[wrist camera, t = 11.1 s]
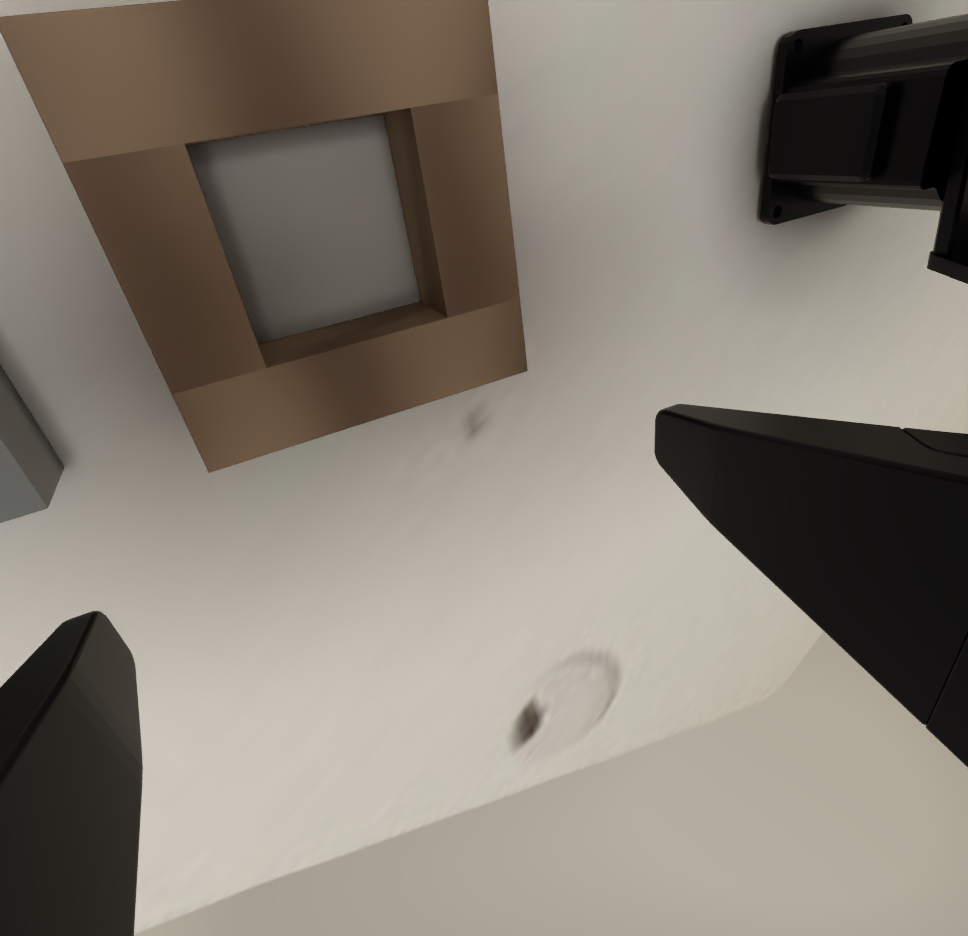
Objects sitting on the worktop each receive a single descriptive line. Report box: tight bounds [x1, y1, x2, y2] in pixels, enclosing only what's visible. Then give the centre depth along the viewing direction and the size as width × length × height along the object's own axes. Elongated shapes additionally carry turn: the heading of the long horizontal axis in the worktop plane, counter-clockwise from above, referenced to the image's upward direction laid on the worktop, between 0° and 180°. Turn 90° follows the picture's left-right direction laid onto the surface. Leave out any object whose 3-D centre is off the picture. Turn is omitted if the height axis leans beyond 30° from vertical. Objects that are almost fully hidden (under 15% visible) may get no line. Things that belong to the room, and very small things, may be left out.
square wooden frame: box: [0, 0, 527, 473], centre depth 16 cm, size 10×10×2 cm
